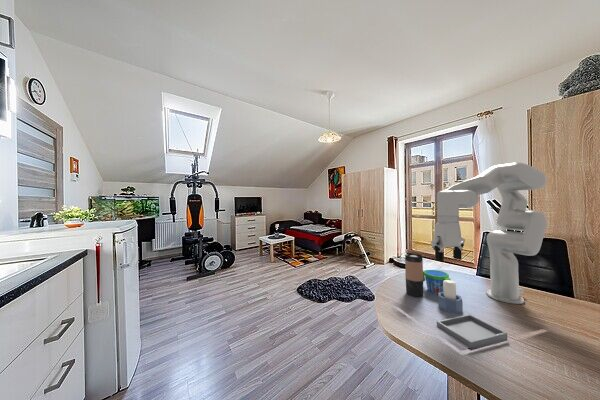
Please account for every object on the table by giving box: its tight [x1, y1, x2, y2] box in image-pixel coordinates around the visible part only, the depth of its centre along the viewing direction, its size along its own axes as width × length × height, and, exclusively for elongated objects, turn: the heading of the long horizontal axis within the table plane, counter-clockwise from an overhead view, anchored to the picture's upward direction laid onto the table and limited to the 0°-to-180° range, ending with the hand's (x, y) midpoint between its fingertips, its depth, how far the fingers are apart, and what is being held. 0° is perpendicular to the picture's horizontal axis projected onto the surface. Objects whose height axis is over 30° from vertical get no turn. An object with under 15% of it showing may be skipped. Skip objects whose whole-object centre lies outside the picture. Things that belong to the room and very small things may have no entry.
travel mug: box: [404, 253, 424, 298], centre depth 102 cm, size 8×8×20 cm
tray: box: [436, 313, 508, 351], centre depth 73 cm, size 16×12×2 cm
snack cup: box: [423, 269, 452, 295], centre depth 105 cm, size 16×10×10 cm
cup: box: [437, 292, 464, 314], centre depth 89 cm, size 8×8×6 cm
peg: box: [443, 280, 457, 300], centre depth 89 cm, size 4×4×11 cm
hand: (448, 260), depth 89 cm, fingers open, 9 cm apart
